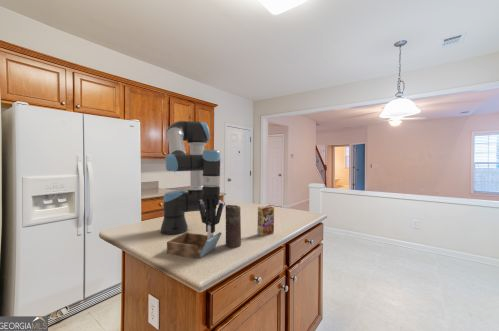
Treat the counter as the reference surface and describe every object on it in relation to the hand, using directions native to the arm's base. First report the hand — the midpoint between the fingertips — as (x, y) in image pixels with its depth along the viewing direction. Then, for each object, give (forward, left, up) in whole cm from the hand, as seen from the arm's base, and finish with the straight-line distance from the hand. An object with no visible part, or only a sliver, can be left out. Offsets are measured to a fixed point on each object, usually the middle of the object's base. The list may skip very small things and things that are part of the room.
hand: (210, 239), depth 100 cm
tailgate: (-2, 0, -6) cm, 6 cm away
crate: (-10, 0, -7) cm, 12 cm away
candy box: (+14, +36, -7) cm, 40 cm away
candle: (+5, +12, -7) cm, 15 cm away
